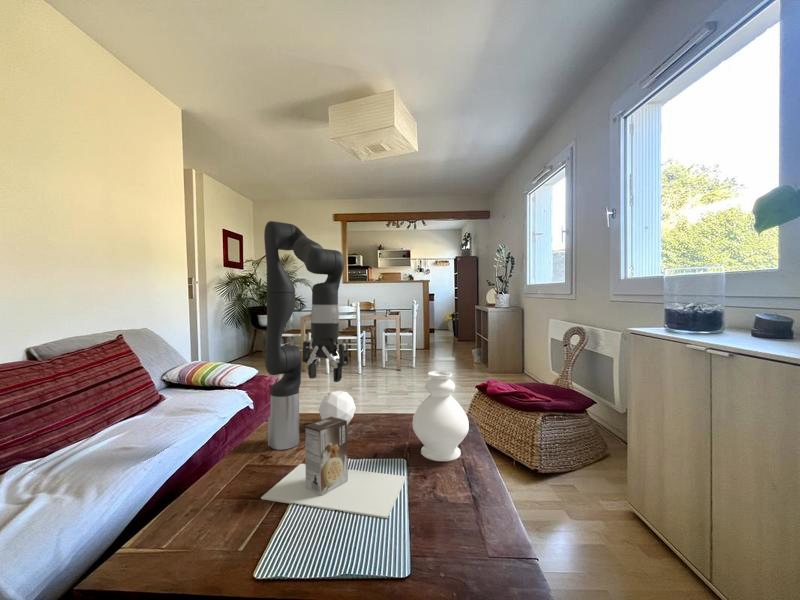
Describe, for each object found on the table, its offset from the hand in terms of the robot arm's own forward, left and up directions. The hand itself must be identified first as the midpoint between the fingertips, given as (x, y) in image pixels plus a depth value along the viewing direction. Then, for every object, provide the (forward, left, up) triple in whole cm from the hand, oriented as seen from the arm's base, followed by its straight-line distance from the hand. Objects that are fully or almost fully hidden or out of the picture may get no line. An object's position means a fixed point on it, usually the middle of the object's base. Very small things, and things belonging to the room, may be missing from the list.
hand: (324, 379), depth 93 cm
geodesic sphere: (-13, +36, -27) cm, 47 cm away
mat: (+6, -5, -26) cm, 27 cm away
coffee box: (+3, -5, -26) cm, 27 cm away
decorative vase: (+29, +22, -27) cm, 45 cm away
